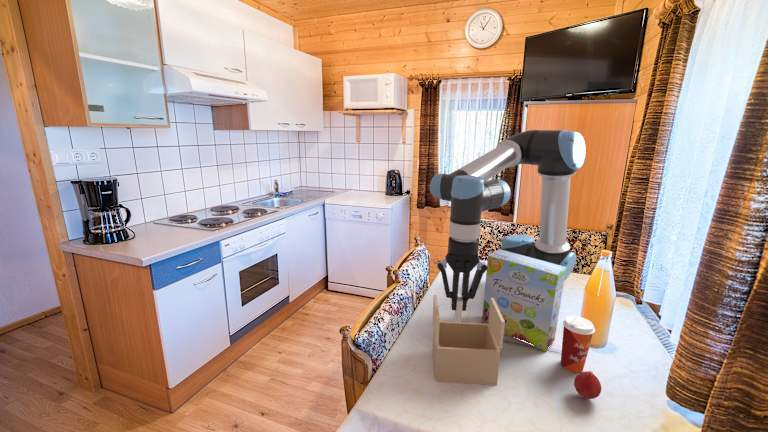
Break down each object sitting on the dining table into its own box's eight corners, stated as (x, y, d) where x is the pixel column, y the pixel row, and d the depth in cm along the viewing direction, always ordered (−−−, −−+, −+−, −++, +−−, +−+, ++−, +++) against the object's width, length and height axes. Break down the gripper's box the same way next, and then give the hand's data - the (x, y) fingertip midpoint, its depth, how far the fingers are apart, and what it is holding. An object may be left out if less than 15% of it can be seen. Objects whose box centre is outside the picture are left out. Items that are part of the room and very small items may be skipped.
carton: (486, 353, 103) (489, 323, 101) (496, 385, 91) (500, 352, 88) (432, 350, 104) (433, 320, 102) (434, 381, 92) (436, 348, 89)
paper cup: (575, 379, 93) (583, 333, 89) (550, 362, 100) (557, 318, 96) (593, 370, 97) (602, 325, 93) (568, 354, 103) (575, 312, 100)
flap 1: (436, 295, 99) (433, 295, 99) (439, 318, 87) (436, 318, 87) (435, 318, 101) (432, 318, 101) (438, 345, 89) (435, 344, 89)
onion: (567, 389, 89) (571, 363, 87) (588, 388, 90) (593, 362, 88) (581, 407, 84) (586, 379, 82) (603, 406, 84) (609, 378, 82)
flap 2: (488, 321, 100) (491, 321, 100) (498, 348, 88) (502, 348, 88) (490, 297, 98) (493, 297, 98) (501, 321, 86) (505, 321, 86)
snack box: (479, 325, 117) (486, 254, 111) (491, 315, 124) (498, 247, 117) (546, 354, 103) (558, 274, 97) (556, 341, 109) (568, 265, 103)
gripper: (487, 233, 91) (479, 314, 97) (436, 232, 92) (432, 312, 98) (493, 243, 84) (485, 329, 90) (439, 241, 85) (434, 327, 91)
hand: (457, 320), depth 94 cm, fingers closed
